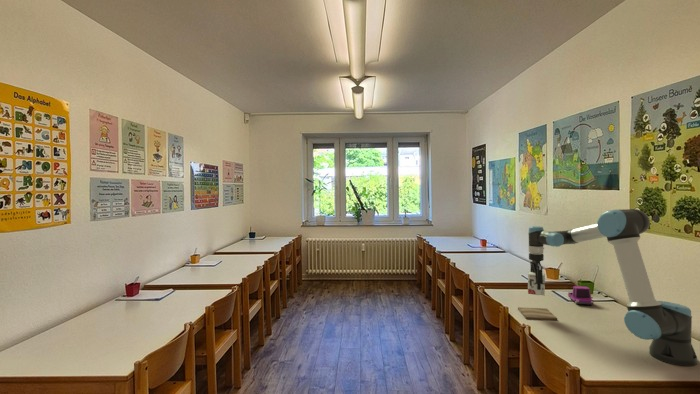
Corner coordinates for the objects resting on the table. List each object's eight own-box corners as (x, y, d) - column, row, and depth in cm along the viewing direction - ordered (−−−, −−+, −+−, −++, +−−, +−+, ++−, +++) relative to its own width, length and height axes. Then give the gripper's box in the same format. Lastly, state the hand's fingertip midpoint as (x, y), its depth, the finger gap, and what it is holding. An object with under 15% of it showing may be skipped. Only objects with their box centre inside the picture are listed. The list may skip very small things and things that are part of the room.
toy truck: (575, 305, 218) (575, 289, 218) (566, 298, 233) (566, 282, 233) (595, 306, 216) (595, 290, 215) (585, 298, 231) (584, 283, 231)
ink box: (527, 294, 204) (527, 273, 204) (528, 291, 208) (527, 271, 208) (545, 295, 200) (544, 275, 200) (544, 293, 204) (544, 273, 204)
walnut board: (557, 320, 195) (557, 318, 195) (526, 319, 198) (526, 316, 198) (546, 310, 211) (546, 308, 211) (517, 309, 214) (517, 307, 214)
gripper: (549, 256, 194) (549, 298, 194) (537, 250, 212) (537, 288, 213) (534, 256, 195) (534, 298, 195) (524, 250, 213) (524, 288, 214)
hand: (536, 293), depth 204 cm, fingers closed on ink box, 6 cm apart
